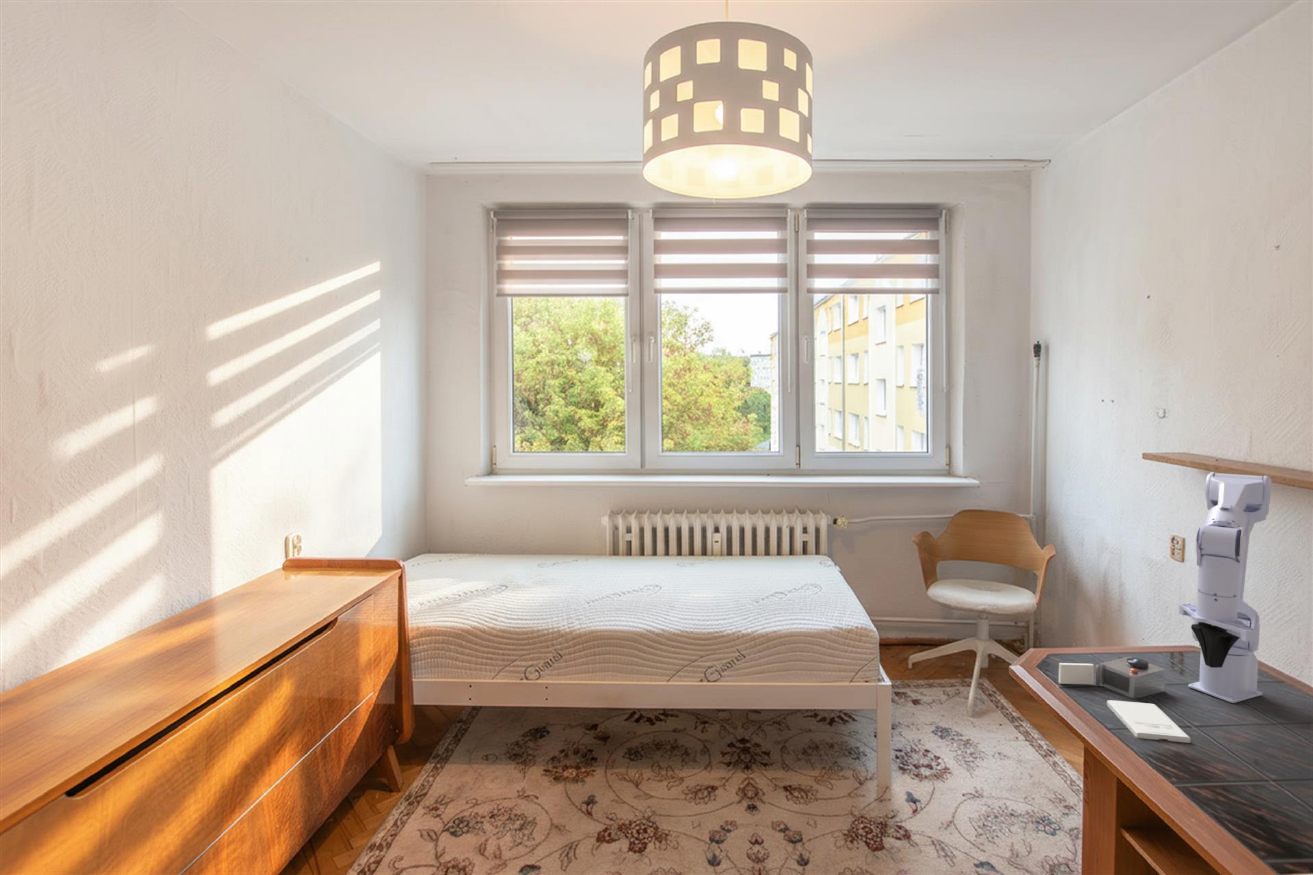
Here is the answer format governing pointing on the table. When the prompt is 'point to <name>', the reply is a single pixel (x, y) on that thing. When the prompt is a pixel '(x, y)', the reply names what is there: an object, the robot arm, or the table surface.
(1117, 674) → the camera body
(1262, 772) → the table surface
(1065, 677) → the side door
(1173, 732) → the external hard drive
